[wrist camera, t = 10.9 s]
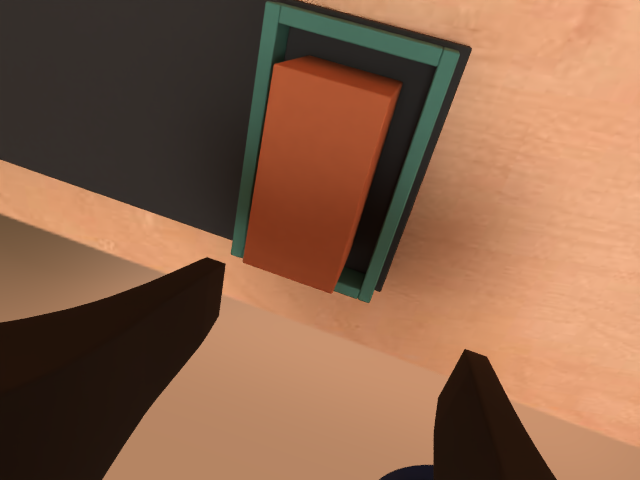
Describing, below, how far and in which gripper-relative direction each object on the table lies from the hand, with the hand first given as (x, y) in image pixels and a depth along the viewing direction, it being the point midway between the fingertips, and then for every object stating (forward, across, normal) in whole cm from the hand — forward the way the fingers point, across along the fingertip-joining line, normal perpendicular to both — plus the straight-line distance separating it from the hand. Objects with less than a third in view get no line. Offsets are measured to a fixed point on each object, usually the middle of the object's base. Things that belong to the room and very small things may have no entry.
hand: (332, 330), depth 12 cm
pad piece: (+8, +3, -2) cm, 9 cm away
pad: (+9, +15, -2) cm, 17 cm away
